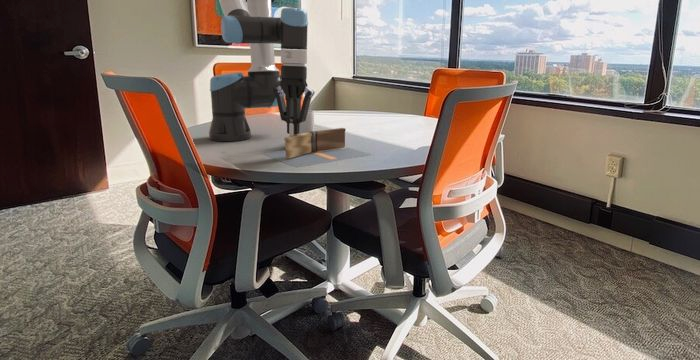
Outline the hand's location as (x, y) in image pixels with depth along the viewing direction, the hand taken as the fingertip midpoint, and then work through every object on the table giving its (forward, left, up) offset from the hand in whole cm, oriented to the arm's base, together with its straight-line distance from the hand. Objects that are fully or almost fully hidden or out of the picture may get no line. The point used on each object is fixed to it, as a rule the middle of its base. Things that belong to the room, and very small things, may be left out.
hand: (293, 144), depth 140 cm
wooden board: (+1, +1, -3) cm, 4 cm away
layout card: (+2, +7, -4) cm, 8 cm away
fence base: (-1, +13, -3) cm, 14 cm away
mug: (-13, +12, -4) cm, 18 cm away
